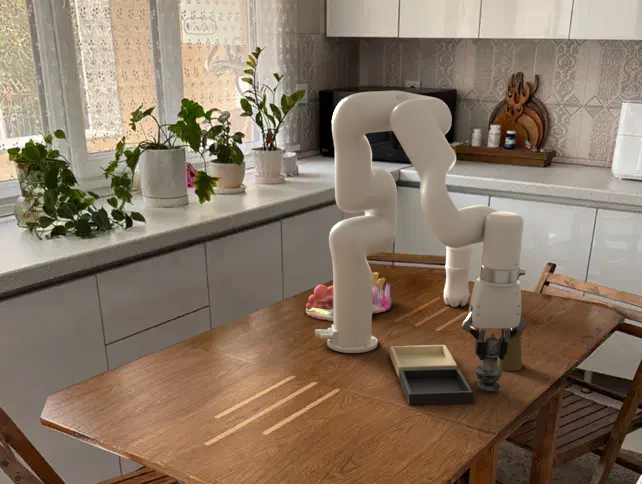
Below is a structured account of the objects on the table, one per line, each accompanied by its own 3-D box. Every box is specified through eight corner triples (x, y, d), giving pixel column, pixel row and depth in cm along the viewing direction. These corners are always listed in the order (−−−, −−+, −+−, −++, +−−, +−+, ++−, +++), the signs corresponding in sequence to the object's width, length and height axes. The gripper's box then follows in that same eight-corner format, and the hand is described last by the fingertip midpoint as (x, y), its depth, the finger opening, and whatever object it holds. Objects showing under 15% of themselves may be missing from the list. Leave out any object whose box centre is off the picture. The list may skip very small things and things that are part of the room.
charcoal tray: (408, 405, 163) (409, 394, 162) (399, 380, 175) (399, 369, 174) (472, 403, 164) (473, 392, 163) (458, 378, 176) (458, 368, 175)
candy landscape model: (315, 293, 237) (315, 264, 233) (393, 296, 234) (394, 266, 230) (301, 320, 214) (300, 287, 210) (387, 323, 211) (388, 290, 207)
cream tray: (398, 377, 177) (398, 367, 176) (389, 356, 189) (390, 346, 188) (456, 375, 177) (457, 365, 176) (444, 354, 190) (445, 344, 189)
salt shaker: (501, 392, 166) (507, 339, 161) (473, 389, 167) (478, 337, 162) (501, 381, 171) (507, 329, 166) (474, 378, 172) (479, 327, 168)
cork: (524, 363, 184) (528, 319, 180) (518, 372, 179) (523, 327, 174) (498, 359, 186) (502, 315, 182) (492, 368, 181) (496, 323, 177)
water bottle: (469, 308, 223) (475, 220, 213) (444, 308, 223) (449, 220, 213) (466, 300, 230) (471, 215, 220) (441, 300, 230) (446, 215, 220)
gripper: (533, 269, 163) (523, 350, 171) (454, 269, 162) (448, 351, 169) (544, 279, 156) (533, 363, 164) (463, 280, 155) (455, 365, 163)
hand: (490, 356), depth 167 cm, fingers closed on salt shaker, 3 cm apart
